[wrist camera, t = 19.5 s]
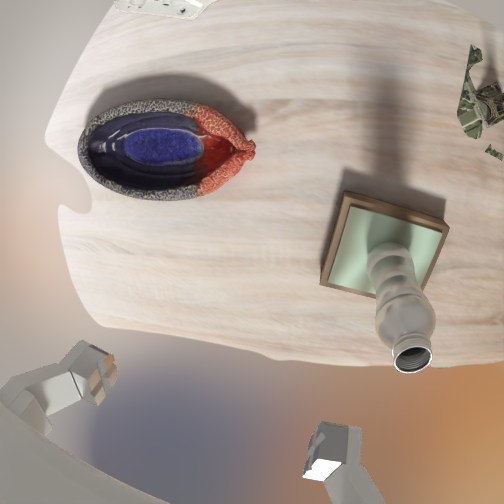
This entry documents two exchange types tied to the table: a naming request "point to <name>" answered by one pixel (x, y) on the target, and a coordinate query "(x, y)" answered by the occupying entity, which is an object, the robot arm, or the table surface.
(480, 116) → the eiffel tower figurine
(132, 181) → the dish
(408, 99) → the table surface
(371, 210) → the walnut stand
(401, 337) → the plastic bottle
